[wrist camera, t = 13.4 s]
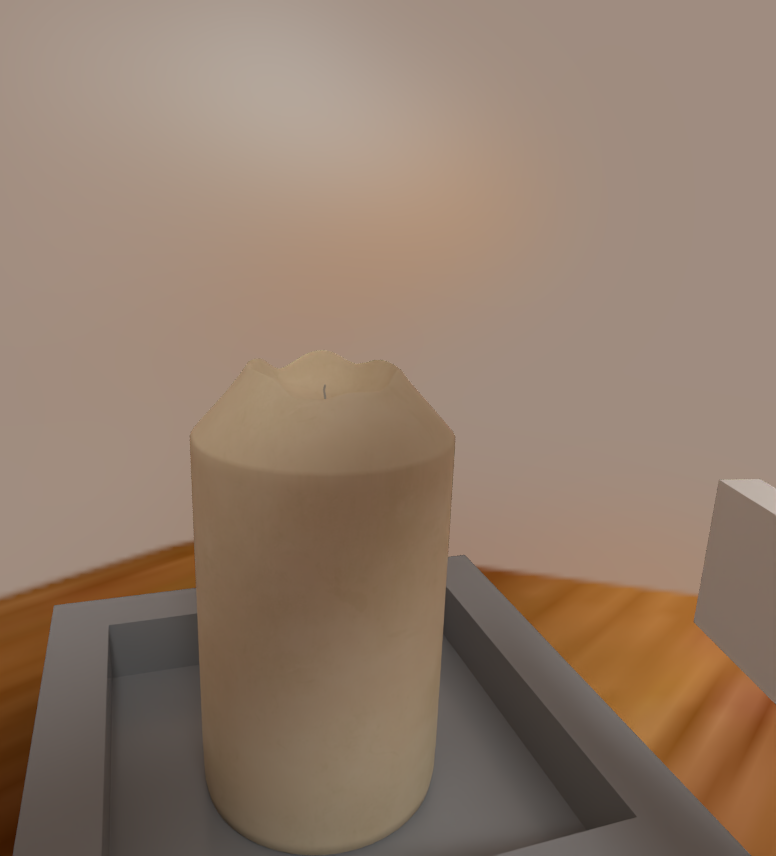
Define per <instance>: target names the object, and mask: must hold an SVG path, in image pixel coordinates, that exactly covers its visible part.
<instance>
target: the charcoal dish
mask: <svg viewBox="0 0 776 856" xmlns="http://www.w3.org/2000/svg"><path fill="white" fill-rule="evenodd" d="M13 856H751V855H750V854H749V853H748V852H747V851H746V850H745V849H744V848H743V847H742V846H741V845H740V843H739V842H738V841H737V840H736V839H735V838H734V837H733V836H732V835H731V834H730V833H729V832H728V831H727V830H726V829H725V828H724V827H723V826H722V825H721V824H720V822H719V821H718V820H717V819H716V818H715V817H714V816H713V815H712V814H711V813H710V812H709V811H708V810H707V809H706V808H705V807H704V806H703V805H702V804H701V802H700V801H699V800H698V799H697V798H696V797H695V796H694V795H693V794H692V793H691V792H690V791H689V790H688V789H687V788H686V787H685V786H684V785H683V784H682V783H681V781H680V780H679V779H678V778H677V777H676V776H675V775H674V774H673V773H672V772H671V771H670V770H669V769H668V768H667V767H666V766H665V765H664V764H663V763H662V762H661V760H660V759H659V758H658V757H657V756H656V755H655V754H654V753H653V752H652V751H651V750H650V749H649V748H648V747H647V746H646V745H645V744H644V743H643V742H642V741H641V739H640V738H639V737H638V736H637V735H636V734H635V733H634V732H633V731H632V730H631V729H630V728H629V727H628V726H627V725H626V724H625V723H624V722H623V721H622V719H621V718H620V717H619V716H618V715H617V714H616V713H615V712H614V711H613V710H612V709H611V708H610V707H609V706H608V705H607V704H606V703H605V702H604V701H603V700H602V698H601V697H600V696H599V695H598V694H597V693H596V692H595V691H594V690H593V689H592V688H591V687H590V686H589V685H588V684H587V683H586V682H585V681H584V680H583V679H582V677H581V676H580V675H579V674H578V673H577V672H576V671H575V670H574V669H573V668H572V667H571V666H570V665H569V664H568V663H567V662H566V661H565V660H564V659H563V658H562V656H561V655H560V654H559V653H558V652H557V651H556V650H555V649H554V648H553V647H552V646H551V645H550V644H549V643H548V642H547V641H546V640H545V639H544V638H543V636H542V635H541V634H540V633H539V632H538V631H537V630H536V629H535V628H534V627H533V626H532V625H531V624H530V623H529V622H528V621H527V620H526V619H525V618H524V617H523V615H522V614H521V613H520V612H519V611H518V610H517V609H516V608H515V607H514V606H513V605H512V604H511V603H510V602H509V601H508V600H507V599H506V598H505V597H504V596H503V594H502V593H501V592H500V591H499V590H498V589H497V588H496V587H495V586H494V585H493V584H492V583H491V582H490V581H489V580H488V579H487V578H486V577H485V576H484V575H483V573H482V572H481V571H480V570H479V569H478V568H477V567H476V566H475V565H474V564H473V563H472V562H471V561H470V560H469V559H468V558H467V557H466V556H465V555H460V556H451V557H448V562H447V578H446V594H445V609H444V625H443V640H442V656H441V671H440V687H439V702H438V718H437V734H436V747H435V758H434V768H433V773H432V777H431V781H430V785H429V788H428V791H427V794H426V796H425V798H424V800H423V802H422V804H421V805H420V807H419V808H418V810H417V811H416V812H415V813H414V815H413V816H412V817H411V818H410V819H409V820H408V821H407V822H406V823H405V824H404V825H402V826H401V827H400V828H399V829H398V830H396V831H395V832H393V833H392V834H390V835H388V836H387V837H385V838H383V839H381V840H379V841H377V842H375V843H373V844H371V845H368V846H365V847H362V848H359V849H356V850H352V851H348V852H343V853H337V854H329V855H300V854H290V853H286V852H281V851H277V850H273V849H270V848H267V847H264V846H261V845H259V844H257V843H255V842H253V841H251V840H249V839H247V838H245V837H244V836H242V835H241V834H239V833H238V832H237V831H235V830H234V829H233V828H232V827H231V826H230V825H229V824H228V823H226V822H225V821H224V819H223V818H222V817H221V815H220V814H219V813H218V811H217V810H216V808H215V806H214V804H213V802H212V800H211V796H210V793H209V790H208V786H207V782H206V776H205V766H204V751H203V735H202V712H201V689H200V665H199V642H198V619H197V596H196V588H192V589H184V590H176V591H167V592H159V593H151V594H143V595H135V596H127V597H119V598H111V599H103V600H94V601H86V602H78V603H70V604H62V605H54V609H53V615H52V621H51V627H50V633H49V639H48V645H47V651H46V657H45V663H44V669H43V676H42V682H41V688H40V694H39V700H38V706H37V712H36V718H35V724H34V730H33V736H32V742H31V748H30V754H29V760H28V766H27V772H26V778H25V784H24V790H23V796H22V802H21V808H20V814H19V820H18V826H17V832H16V838H15V844H14V851H13Z"/></svg>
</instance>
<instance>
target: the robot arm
mask: <svg viewBox="0 0 776 856" xmlns="http://www.w3.org/2000/svg"><path fill="white" fill-rule="evenodd" d="M694 623H695V624H696V625H697V626H698V627H699V628H700V629H701V630H702V631H703V632H704V633H705V634H706V635H707V636H708V637H709V638H710V639H711V640H712V641H713V642H714V643H715V644H716V645H717V646H718V647H719V648H720V649H721V650H722V651H723V652H724V653H725V654H726V655H727V656H728V657H729V658H730V659H731V660H732V661H733V662H734V663H735V664H736V665H737V666H738V667H739V668H740V669H741V670H742V671H743V672H744V673H745V674H746V675H747V676H748V677H749V678H750V679H751V680H752V681H753V682H754V683H755V684H756V685H757V686H758V687H759V688H760V689H761V690H762V691H763V692H764V693H765V694H766V695H767V696H768V697H769V698H770V699H771V700H772V701H773V702H774V703H775V704H776V488H775V487H773V486H771V485H770V484H768V483H766V482H764V481H763V480H761V479H732V480H731V479H728V480H719V483H718V489H717V494H716V500H715V505H714V512H713V517H712V522H711V528H710V534H709V540H708V545H707V550H706V556H705V562H704V567H703V573H702V578H701V584H700V590H699V595H698V601H697V606H696V612H695V618H694Z"/></svg>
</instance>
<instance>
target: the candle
mask: <svg viewBox="0 0 776 856" xmlns="http://www.w3.org/2000/svg"><path fill="white" fill-rule="evenodd" d="M454 453H455V435H454V433H453V431H452V430H451V429H450V428H449V426H448V425H447V424H446V423H445V422H444V420H443V419H442V418H441V417H440V416H439V415H438V413H437V412H436V411H435V410H434V409H433V408H432V406H431V405H430V404H429V403H428V402H427V401H426V400H425V399H424V397H423V396H422V395H421V394H420V393H419V392H418V391H417V389H416V388H415V387H414V386H413V385H412V384H411V383H410V381H409V380H408V379H407V377H406V376H405V375H404V373H403V372H402V370H401V369H399V368H398V367H396V366H395V365H393V364H391V363H389V362H387V361H383V360H373V361H369V362H366V363H360V364H355V363H352V362H350V361H348V360H346V359H344V358H343V357H341V356H339V355H337V354H335V353H333V352H329V351H325V350H320V351H314V352H310V353H307V354H306V355H304V356H302V357H300V358H298V359H297V360H295V361H294V362H292V363H291V364H289V365H287V366H286V367H283V368H280V369H278V368H275V367H273V366H272V365H270V364H269V363H267V362H266V361H265V360H262V359H253V360H251V361H249V362H248V363H247V365H246V366H245V368H244V369H243V370H242V372H241V373H240V375H239V376H238V377H237V379H236V380H235V381H234V382H233V384H232V385H231V386H230V387H229V389H228V390H227V391H226V392H225V393H224V394H223V396H222V397H221V398H220V399H219V400H218V401H217V402H216V403H215V404H214V405H213V407H212V408H211V409H210V410H209V411H208V412H207V413H206V414H205V415H204V416H203V418H202V419H201V420H200V421H199V422H198V423H197V424H196V425H195V427H194V428H193V430H192V431H191V434H190V455H191V479H192V503H193V526H194V549H195V572H196V596H197V619H198V642H199V665H200V689H201V712H202V735H203V751H204V766H205V776H206V782H207V786H208V790H209V793H210V796H211V800H212V802H213V804H214V806H215V808H216V810H217V811H218V813H219V814H220V815H221V817H222V818H223V819H224V821H225V822H226V823H228V824H229V825H230V826H231V827H232V828H233V829H234V830H235V831H237V832H238V833H239V834H241V835H242V836H244V837H245V838H247V839H249V840H251V841H253V842H255V843H257V844H259V845H261V846H264V847H267V848H270V849H273V850H277V851H281V852H286V853H290V854H300V855H329V854H337V853H343V852H348V851H352V850H356V849H359V848H362V847H365V846H368V845H371V844H373V843H375V842H377V841H379V840H381V839H383V838H385V837H387V836H388V835H390V834H392V833H393V832H395V831H396V830H398V829H399V828H400V827H401V826H402V825H404V824H405V823H406V822H407V821H408V820H409V819H410V818H411V817H412V816H413V815H414V813H415V812H416V811H417V810H418V808H419V807H420V805H421V804H422V802H423V800H424V798H425V796H426V794H427V791H428V788H429V785H430V781H431V777H432V773H433V768H434V758H435V747H436V734H437V718H438V702H439V687H440V671H441V656H442V640H443V625H444V609H445V594H446V578H447V562H448V546H449V531H450V516H451V500H452V484H453V469H454Z"/></svg>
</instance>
